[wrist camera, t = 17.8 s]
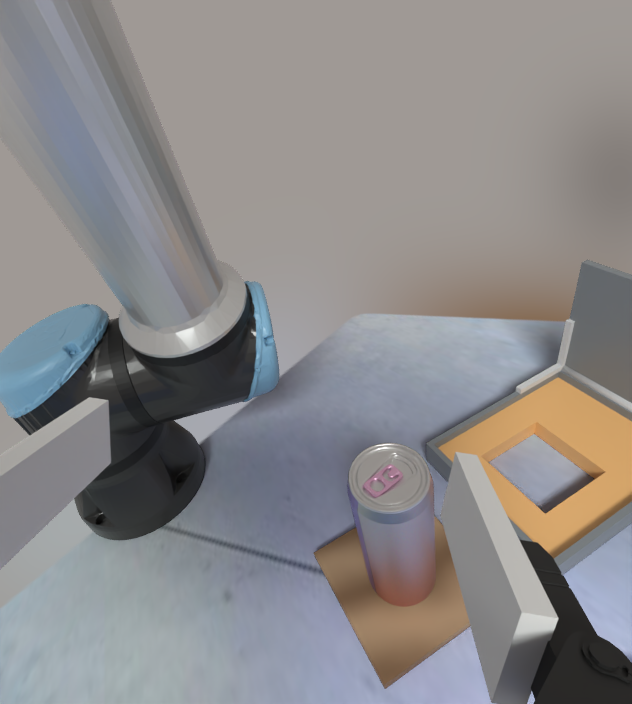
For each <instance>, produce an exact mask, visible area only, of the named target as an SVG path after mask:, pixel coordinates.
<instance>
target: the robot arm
mask: <svg viewBox="0 0 632 704" xmlns="http://www.w3.org/2000/svg"><path fill="white" fill-rule="evenodd" d="M0 139H1V140H2V141H3V143H4V144H5V145H6V147H7V148H8V150H9V151H10V152H11V154H12V155H13V156H14V158H15V159H16V160H17V162H18V163H19V165H20V166H21V167H22V169H23V170H24V171H25V173H26V174H27V176H28V177H29V178H30V179H31V181H32V182H33V184H34V185H35V186H36V188H37V189H38V191H39V192H40V193H41V194H42V196H43V197H44V199H45V200H46V201H47V203H48V204H49V205H50V207H51V208H52V209H53V211H54V212H55V214H56V215H57V216H58V218H59V219H60V221H61V222H62V223H63V225H64V226H65V227H66V229H67V230H68V231H69V233H70V234H71V236H72V237H73V238H74V240H75V241H76V242H77V244H78V245H79V247H80V248H81V249H82V251H83V252H84V253H85V255H86V256H87V257H88V259H89V260H90V261H91V263H92V264H93V266H94V267H95V268H96V270H97V271H98V272H99V274H100V275H101V276H102V278H103V279H104V281H105V282H106V283H107V285H108V286H109V287H110V289H111V290H112V291H113V293H114V294H115V296H116V297H117V298H118V300H119V301H120V302H121V304H122V307H121V310H120V314H119V318H116V319H111V320H109V318H108V317H109V316H108V314H107V313H106V312H105V311H103V310H102V309H101V308H100V307H98V306H97V305H87V304H82V305H77V306H73V307H70V308H67V309H64V310H62V311H59V312H57V313H55V314H53V315H51V316H49V317H47V318H45V319H43V320H41V321H40V322H38V323H36V324H35V325H33V326H32V327H30V328H29V329H27V330H26V331H25V332H23V333H22V334H20V335H19V336H18V337H17V338H15V339H14V340H13V341H12V342H11V343H10V344H9V345H8V346H7V347H6V348H5V349H4V350H3V351H2V352H1V353H0V401H1V403H2V404H3V405H4V407H5V408H6V411H7V414H8V415H9V416H11V417H12V418H14V419H15V421H16V422H17V423H18V424H19V425H20V426H21V427H22V428H23V429H24V430H25V431H26V432H27V433H28V434H29V435H30V436H29V437H27V438H25V439H24V440H22V441H21V442H19V443H18V444H16V445H15V446H13V447H11V448H10V449H8V450H7V451H5V452H4V453H2V454H1V455H0V569H1V568H2V567H3V566H4V565H6V564H7V562H9V561H10V560H11V559H12V558H13V557H14V556H15V555H16V554H17V553H18V552H19V551H20V550H21V549H22V548H23V547H24V546H25V545H26V544H27V543H28V542H29V541H30V540H31V539H32V538H34V537H35V536H36V534H38V533H39V532H40V531H41V530H42V529H43V528H44V527H45V526H46V525H47V524H48V523H49V522H50V521H51V520H52V519H53V518H54V517H55V516H56V515H57V514H58V513H59V512H61V511H62V510H63V509H64V508H65V507H66V506H67V504H69V503H70V502H71V501H72V500H73V499H75V503H76V506H77V510H78V512H79V515H80V516H81V518H82V520H83V521H84V522H85V523H86V524H87V525H88V526H89V527H90V528H91V529H92V530H93V531H94V532H95V533H96V534H98V535H99V536H101V537H104V538H107V539H112V540H127V539H133V538H137V537H140V536H143V535H146V534H148V533H150V532H153V531H155V530H157V529H158V528H160V527H162V526H163V525H165V524H166V523H168V522H169V521H171V520H172V519H173V518H174V517H175V516H177V515H178V514H179V513H180V512H181V511H182V510H183V509H184V508H185V507H186V506H187V504H188V503H189V502H190V501H191V499H192V498H193V497H194V495H195V494H196V492H197V490H198V488H199V486H200V484H201V482H202V479H203V475H204V470H205V459H204V455H203V452H202V450H201V448H200V446H199V444H198V443H197V441H196V439H195V438H194V437H193V435H192V434H191V433H190V432H188V431H187V430H186V429H184V428H183V427H182V426H180V425H179V424H177V423H176V422H175V421H173V420H176V419H180V418H183V417H187V416H190V415H194V414H198V413H201V412H205V411H209V410H212V409H216V408H220V407H223V406H227V405H231V404H235V403H239V402H246V401H249V400H250V399H252V398H253V397H256V396H259V395H262V394H265V393H268V392H270V391H272V390H273V389H274V388H275V387H276V385H277V384H278V381H279V365H278V357H277V351H276V346H275V341H274V339H273V330H272V324H271V319H270V314H269V309H268V306H267V301H266V297H265V294H264V291H263V288H262V286H261V284H259V283H258V282H249V281H246V282H244V281H243V279H242V278H241V276H240V274H239V273H238V271H236V270H235V269H234V268H233V267H232V266H230V265H228V264H227V263H224V262H222V261H219V260H217V259H216V256H215V254H214V251H213V249H212V246H211V244H210V242H209V239H208V237H207V234H206V232H205V229H204V227H203V224H202V222H201V219H200V217H199V215H198V212H197V210H196V207H195V205H194V203H193V200H192V198H191V195H190V193H189V190H188V188H187V185H186V183H185V180H184V178H183V176H182V173H181V171H180V168H179V166H178V163H177V161H176V158H175V156H174V153H173V151H172V149H171V146H170V144H169V141H168V139H167V136H166V134H165V131H164V129H163V127H162V124H161V122H160V119H159V117H158V114H157V112H156V110H155V107H154V105H153V102H152V100H151V97H150V95H149V92H148V90H147V87H146V85H145V82H144V80H143V78H142V75H141V73H140V71H139V68H138V65H137V63H136V60H135V58H134V56H133V53H132V51H131V48H130V46H129V43H128V41H127V39H126V36H125V34H124V31H123V29H122V26H121V24H120V22H119V19H118V16H117V14H116V12H115V9H114V7H113V5H112V2H111V0H0ZM440 516H441V519H442V523H443V527H444V530H445V534H446V538H447V541H448V545H449V549H450V552H451V556H452V560H453V563H454V567H455V571H456V574H457V578H458V582H459V586H460V589H461V593H462V597H463V600H464V604H465V608H466V611H467V615H468V619H469V622H470V626H471V630H472V633H473V637H474V641H475V644H476V648H477V652H478V655H479V659H480V663H481V666H482V670H483V674H484V677H485V681H486V685H487V688H488V692H489V696H490V699H491V702H492V703H497V704H527V702H528V699H529V696H530V694H531V691H532V692H533V695H534V698H535V702H534V704H632V663H631V662H630V660H629V659H628V658H627V657H626V656H625V655H624V654H623V652H622V651H620V650H619V649H618V648H617V647H615V646H614V645H613V644H612V643H610V642H609V641H607V640H605V639H603V638H601V637H599V636H598V635H597V634H596V632H595V630H594V628H593V627H592V625H591V623H590V621H589V620H588V618H587V616H586V614H585V613H584V611H583V609H582V607H581V606H580V604H579V602H578V600H577V599H576V597H575V595H574V593H573V592H572V590H571V589H569V585H568V583H567V581H566V580H565V578H564V576H562V575H561V571H560V569H559V567H558V566H557V564H556V562H555V560H554V559H553V557H552V556H551V555H550V554H549V553H548V552H547V551H546V550H545V549H544V548H543V547H542V546H541V545H540V544H539V543H538V542H531V541H525V540H519V538H518V536H517V534H516V532H515V530H514V528H513V526H512V524H511V522H510V520H509V518H508V516H507V514H506V512H505V510H504V508H503V506H502V504H501V502H500V500H499V498H498V496H497V494H496V492H495V490H494V488H493V486H492V484H491V482H490V480H489V478H488V476H487V474H486V472H485V470H484V468H483V466H482V464H481V462H480V460H479V458H478V456H477V455H473V454H467V453H460V452H455V456H454V460H453V464H452V468H451V473H450V477H449V481H448V485H447V489H446V493H445V498H444V502H443V506H442V510H441V514H440Z"/></svg>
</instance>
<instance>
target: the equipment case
mask: <svg viewBox="0 0 632 704" xmlns="http://www.w3.org/2000/svg"><path fill="white" fill-rule="evenodd" d="M533 434H536V435H537V436H538V437H540V438H541V439H542V440H544V441H545V442H546V443H548V444H549V445H550V446H552V447H553V448H554V449H556V450H557V451H558V452H560V453H561V454H562V455H564V456H565V457H566V458H568V459H569V460H570V461H572V462H573V463H574V464H576V465H577V466H578V467H580V468H581V469H582V470H584V471H585V472H586V473H588V474H589V475H590V476H591V477H593V478H594V479H595V480H593V481H592V482H591V483H589V484H588V485H586V486H585V487H583V488H582V489H580V490H579V491H578V492H576V493H575V494H573V495H572V496H570V497H569V498H567V499H566V500H565V501H563V502H562V503H560V504H559V505H557V506H556V507H554V508H553V509H552V510H550V511H549V512H547V513H546V514H545V513H544V512H543V511H542V510H540V509H539V508H538V507H537V506H536V505H535V504H534V503H533V502H532V501H530V500H529V499H528V498H527V497H526V496H525V495H524V494H523V493H522V492H520V491H519V490H518V489H517V488H516V487H515V486H514V485H513V484H512V483H510V482H509V481H508V480H507V479H506V478H505V477H504V476H503V475H502V474H500V473H499V472H498V471H497V470H496V469H495V468H494V467H493V466H492V465H490V464H489V463H488V462H489V461H491V460H493V459H494V458H496V457H497V456H499V455H501V454H502V453H504V452H505V451H507V450H509V449H510V448H512V447H513V446H515V445H517V444H518V443H520V442H521V441H523V440H525V439H526V438H528V437H530V436H531V435H533ZM455 452H460V453H467V454H473V455H477V456H478V458H479V460H480V462H481V464H482V466H483V468H484V470H485V472H486V474H487V476H488V478H489V480H490V482H491V484H492V486H493V488H494V490H495V492H496V494H497V496H498V498H499V500H500V502H501V504H502V506H503V508H504V510H505V512H506V514H507V516H508V518H509V520H510V522H511V524H512V526H513V528H514V530H515V532H516V534H517V536H518V538H519V540H525V541H531V542H538V543H539V544H540V545H541V546H542V547H543V548H544V549H545V550H546V551H547V552H548V553H549V554H550V555H551V556H552V557H553V559H554V560H555V562H556V564H557V566H558V567H559V569H560V571H561V575H563V574H565V573H566V572H567V571H569V570H570V569H571V568H573V567H574V566H575V565H577V564H578V563H579V562H581V561H582V560H583V559H585V558H586V557H587V556H589V555H590V554H591V553H593V552H594V551H595V550H597V549H598V548H599V547H601V546H602V545H603V544H604V543H606V542H607V541H608V540H610V539H611V538H612V537H614V536H615V535H616V534H618V533H619V532H620V531H622V530H623V529H624V528H626V527H627V526H628V525H630V524H631V523H632V275H631V274H628V273H625V272H622V271H619V270H616V269H613V268H610V267H607V266H604V265H601V264H599V263H596V262H593V261H590V260H586V261H584V262H582V265H581V269H580V274H579V278H578V283H577V288H576V292H575V296H574V301H573V306H572V310H571V315H570V319H568V320H566V323H565V327H564V332H563V337H562V342H561V346H560V351H559V356H558V360H557V363H556V364H555V365H553V366H551V367H550V368H548V369H546V370H544V371H543V372H541V373H539V374H537V375H536V376H534V377H532V378H530V379H529V380H527V381H525V382H523V383H522V384H520V385H518V386H516V391H515V392H514V393H512V394H510V395H508V396H507V397H505V398H503V399H502V400H500V401H498V402H496V403H495V404H493V405H491V406H489V407H488V408H486V409H484V410H482V411H481V412H479V413H477V414H476V415H474V416H472V417H470V418H469V419H467V420H465V421H463V422H462V423H460V424H458V425H457V426H455V427H453V428H451V429H450V430H448V431H446V432H444V433H443V434H441V435H439V436H437V437H436V438H434V439H432V440H431V441H429V442H427V443H426V455H427V461H428V462H429V463H430V464H431V465H432V466H433V467H434V468H435V469H436V470H437V471H438V472H439V473H440V474H441V476H442V477H443V478H444V479H445V480H446V481H447V482H448V481H449V477H450V473H451V468H452V464H453V460H454V456H455Z"/></svg>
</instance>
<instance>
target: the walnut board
mask: <svg viewBox="0 0 632 704" xmlns="http://www.w3.org/2000/svg"><path fill="white" fill-rule="evenodd" d="M434 524H435V560H436V580H435V584H434V587H433V589H432V591H431V593H430V594H429V595H428V597H427V598H426V599H424V600H423V601H422V602H420V603H418V604H416V605H413V606H407V607H401V606H395V605H392V604H390V603H388V602H386V601H384V600H383V599H382V598H381V597H379V596H378V595H377V593H376V592H375V591H374V589H373V588H372V586H371V584H370V581H369V577H368V573H367V569H366V565H365V561H364V557H363V553H362V549H361V545H360V540H359V536H358V532H357V528H356V527H355V528H354V529H352V530H350V531H349V532H347V533H345V534H344V535H342V536H341V537H339V538H337V539H336V540H334V541H332V542H331V543H329V544H327V545H326V546H324V547H322V548H321V549H319V550H318V551H316V552H314V555H315V558H316V560H317V561H318V563H319V565H320V567H321V569H322V571H323V573H324V575H325V577H326V578H327V580H328V582H329V584H330V586H331V588H332V590H333V592H334V594H335V596H336V597H337V599H338V601H339V603H340V605H341V607H342V609H343V611H344V613H345V614H346V616H347V618H348V620H349V622H350V624H351V626H352V628H353V630H354V631H355V633H356V635H357V637H358V639H359V641H360V643H361V645H362V647H363V649H364V650H365V652H366V654H367V656H368V658H369V660H370V662H371V664H372V666H373V667H374V669H375V671H376V673H377V675H378V677H379V679H380V681H381V683H382V685H383V686H384V688H385V689H386V688H387V687H389V686H390V685H391V684H393V683H394V682H395V681H397V680H398V679H399V678H401V677H402V676H403V675H405V674H406V673H408V672H409V671H410V670H412V669H413V668H414V667H416V666H417V665H418V664H420V663H421V662H422V661H424V660H425V659H426V658H428V657H429V656H431V655H432V654H433V653H435V652H436V651H437V650H439V649H440V648H441V647H443V646H444V645H445V644H447V643H448V642H449V641H451V640H452V639H453V638H455V637H456V636H458V635H459V634H460V633H462V632H463V631H464V630H466V629H467V628H468V627H470V622H469V619H468V615H467V611H466V608H465V604H464V600H463V597H462V593H461V589H460V586H459V582H458V578H457V574H456V571H455V567H454V563H453V560H452V556H451V552H450V549H449V545H448V541H447V538H446V534H445V530H444V527H443V525H442V524H441V523H440V521H439V520H438V519H437V518H436V517H435V516H434Z"/></svg>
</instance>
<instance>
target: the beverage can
mask: <svg viewBox="0 0 632 704" xmlns="http://www.w3.org/2000/svg"><path fill="white" fill-rule="evenodd" d="M347 489H348V495H349V499H350V503H351V508H352V512H353V516H354V520H355V524H356V528H357V532H358V536H359V540H360V545H361V549H362V553H363V557H364V561H365V565H366V569H367V573H368V577H369V581H370V584H371V586H372V588H373V589H374V591H375V592H376V593H377V595H378V596H379V597H381V598H382V599H383V600H384V601H386V602H388V603H390V604H392V605H395V606H401V607H407V606H413V605H416V604H418V603H420V602H422V601H423V600H424V599H426V598H427V597H428V595H429V594H430V593H431V591H432V589H433V587H434V584H435V580H436V560H435V524H434V487H433V480H432V477H431V474H430V471H429V468H428V466H427V464H426V462H425V460H424V459H423V458H422V457H421V456H420V455H419V454H418V453H417V452H416V451H414V450H413V449H411V448H409V447H407V446H404V445H401V444H396V443H382V444H377V445H374V446H371V447H369V448H367V449H365V450H364V451H362V452H361V453H360V454H359V455H358V456H357V457H356V458H355V459H354V461H353V462H352V464H351V466H350V469H349V473H348V485H347Z"/></svg>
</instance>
